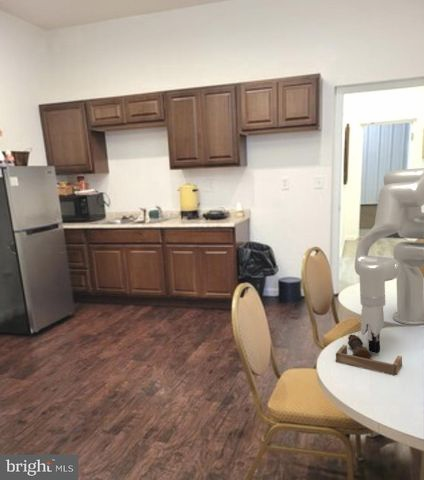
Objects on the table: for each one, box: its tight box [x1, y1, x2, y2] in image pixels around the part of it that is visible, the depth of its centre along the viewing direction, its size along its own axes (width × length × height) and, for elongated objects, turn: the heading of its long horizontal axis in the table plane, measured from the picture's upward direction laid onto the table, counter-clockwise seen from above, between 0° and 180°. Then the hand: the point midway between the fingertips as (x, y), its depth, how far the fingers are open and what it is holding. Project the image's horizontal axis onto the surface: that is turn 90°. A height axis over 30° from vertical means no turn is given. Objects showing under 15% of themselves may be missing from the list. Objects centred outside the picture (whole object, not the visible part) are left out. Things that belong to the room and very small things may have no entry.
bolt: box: [347, 334, 373, 360], centre depth 128 cm, size 6×5×15 cm
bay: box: [335, 344, 403, 376], centre depth 121 cm, size 7×18×3 cm, turn 52°
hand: (374, 351), depth 126 cm, fingers closed
